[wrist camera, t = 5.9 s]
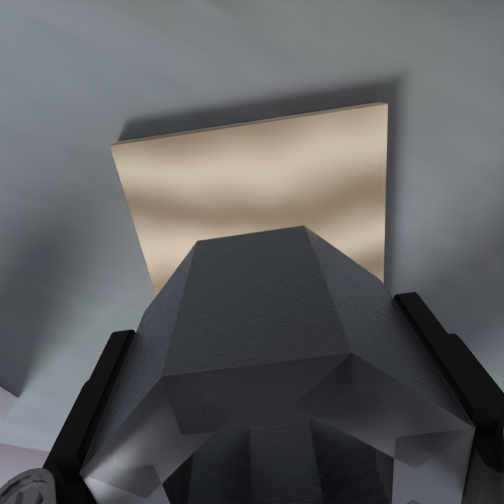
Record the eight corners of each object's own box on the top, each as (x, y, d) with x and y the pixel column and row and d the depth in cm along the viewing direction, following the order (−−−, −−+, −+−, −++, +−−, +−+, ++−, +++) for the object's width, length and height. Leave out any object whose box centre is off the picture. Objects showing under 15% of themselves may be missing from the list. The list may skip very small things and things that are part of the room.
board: (116, 141, 25) (109, 145, 24) (380, 101, 24) (387, 103, 23) (191, 389, 36) (189, 402, 35) (375, 368, 35) (381, 380, 34)
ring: (123, 250, 10) (31, 392, 6) (381, 214, 10) (493, 334, 5) (183, 422, 14) (153, 598, 9) (379, 399, 13) (448, 569, 9)
